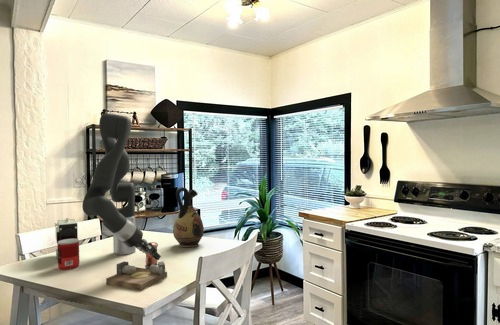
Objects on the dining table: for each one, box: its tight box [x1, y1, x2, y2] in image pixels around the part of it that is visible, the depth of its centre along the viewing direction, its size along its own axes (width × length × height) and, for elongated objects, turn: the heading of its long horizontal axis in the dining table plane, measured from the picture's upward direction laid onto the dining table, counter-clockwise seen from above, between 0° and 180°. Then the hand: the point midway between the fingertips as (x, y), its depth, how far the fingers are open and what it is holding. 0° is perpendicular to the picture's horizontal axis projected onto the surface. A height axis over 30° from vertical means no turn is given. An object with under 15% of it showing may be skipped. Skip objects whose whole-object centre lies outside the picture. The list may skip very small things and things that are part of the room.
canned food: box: [56, 239, 80, 271], centre depth 144 cm, size 8×8×11 cm
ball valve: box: [54, 217, 79, 258], centre depth 159 cm, size 18×8×18 cm, turn 31°
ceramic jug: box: [172, 186, 205, 248], centre depth 176 cm, size 17×15×30 cm
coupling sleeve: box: [144, 241, 159, 269], centre depth 141 cm, size 5×5×10 cm
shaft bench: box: [105, 260, 168, 291], centre depth 127 cm, size 17×14×6 cm
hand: (155, 256), depth 142 cm, fingers closed on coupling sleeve, 4 cm apart
